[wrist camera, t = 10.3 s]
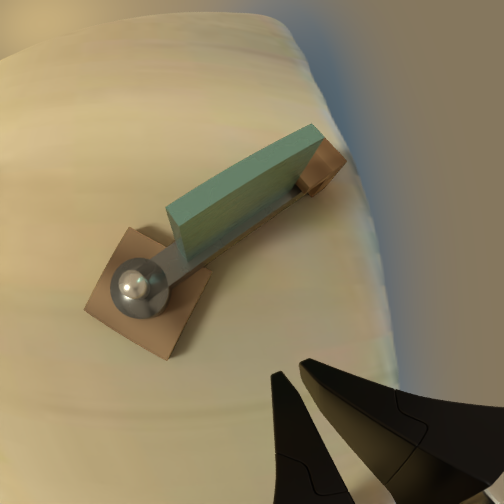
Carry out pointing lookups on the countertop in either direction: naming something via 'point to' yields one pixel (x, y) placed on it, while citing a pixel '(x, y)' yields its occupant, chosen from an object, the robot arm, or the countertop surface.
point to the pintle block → (156, 329)
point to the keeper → (320, 169)
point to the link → (215, 221)
